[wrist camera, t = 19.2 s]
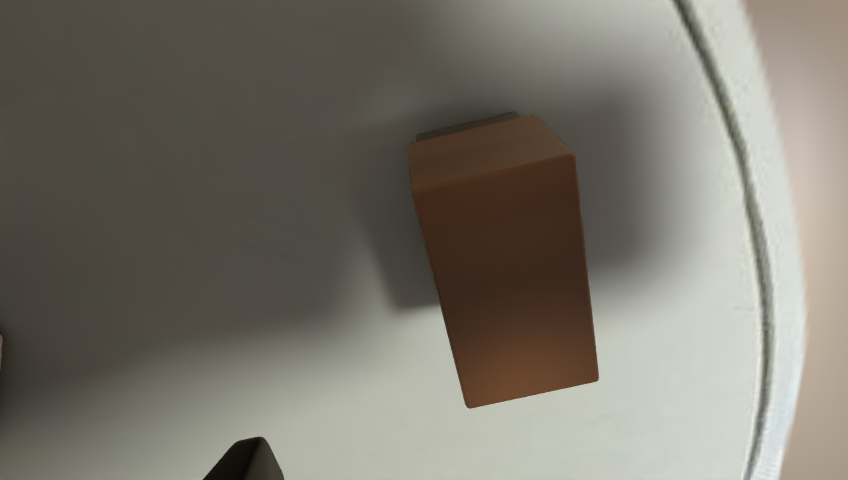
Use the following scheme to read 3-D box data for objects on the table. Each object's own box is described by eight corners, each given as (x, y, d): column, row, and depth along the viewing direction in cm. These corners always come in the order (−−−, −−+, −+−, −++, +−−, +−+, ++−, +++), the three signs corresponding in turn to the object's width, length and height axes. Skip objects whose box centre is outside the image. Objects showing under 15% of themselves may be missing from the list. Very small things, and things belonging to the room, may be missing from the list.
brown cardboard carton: (549, 282, 15) (600, 382, 11) (448, 305, 15) (466, 411, 12) (523, 99, 13) (576, 153, 9) (404, 128, 13) (410, 191, 9)
